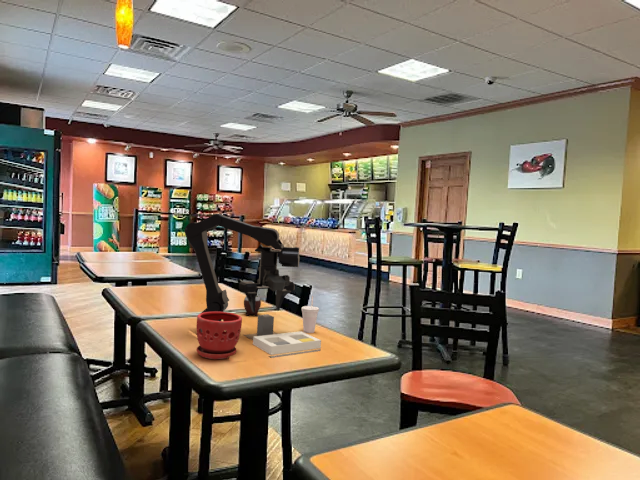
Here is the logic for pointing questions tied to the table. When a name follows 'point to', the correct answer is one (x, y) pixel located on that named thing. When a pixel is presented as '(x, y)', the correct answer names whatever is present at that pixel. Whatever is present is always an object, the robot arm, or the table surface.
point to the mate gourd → (248, 307)
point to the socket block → (287, 343)
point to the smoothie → (309, 317)
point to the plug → (265, 325)
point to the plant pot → (218, 334)
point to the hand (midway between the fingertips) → (265, 311)
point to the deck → (254, 335)
